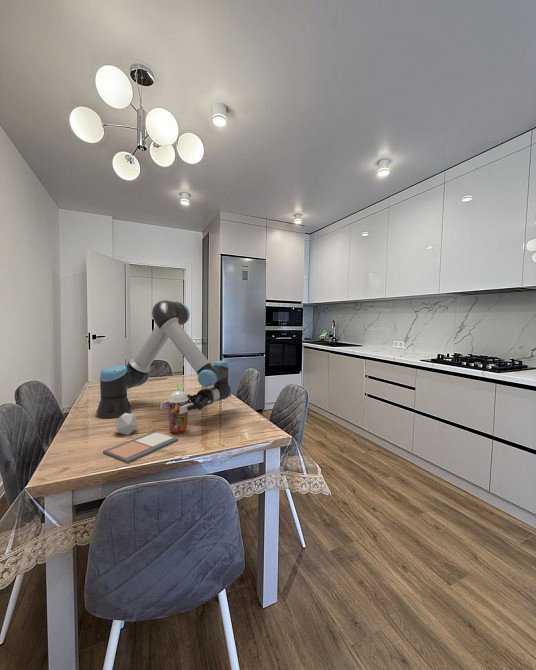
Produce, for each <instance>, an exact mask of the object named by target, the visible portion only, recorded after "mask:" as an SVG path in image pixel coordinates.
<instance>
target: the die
mask: <svg viewBox="0 0 536 670" xmlns="http://www.w3.org/2000/svg"><path fill="white" fill-rule="evenodd" d="M114 424H115V425H114V426H115V430H116V431H117V433H118V434H121V435H125V436H130V434H131V433H132V432H133V431H135V429H137V428H138V427H139V423H138V420H137V417H136V415H135V414H134V413H124V414H123V415H122V416H121V417H117V419H116V420H115V421H114Z"/></svg>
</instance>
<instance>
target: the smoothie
mask: <svg viewBox="0 0 536 670" xmlns="http://www.w3.org/2000/svg"><path fill="white" fill-rule="evenodd" d="M176 386H177V390H175V391H173V392H172V393H171V394H170V395H169V397H168V399H167V401H168V408H167V409H168V421H169V431H170V432H171V433H172V434H174V435H179V434H183V433H185V432H186V430H187V429H188V428H187V427H188V414H189V411H188V412H185V413H182V414H180V407H181V406H184V405H187V404H188V400H189V398H188V397H187V395H188V394H187V393H185V392H184V391H183V390H180V384H178V383H177V385H176Z"/></svg>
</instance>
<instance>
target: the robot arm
mask: <svg viewBox="0 0 536 670" xmlns="http://www.w3.org/2000/svg"><path fill="white" fill-rule="evenodd" d="M151 311H152V312H151V315H152V319H153V321H154V323H155V327H154V328H153V329H152V331H151V333H150V334H149V336H148V338H147V339H146V341H145V342H144V343H143V345H142V346H141V348H140V350H139V351H138V353H137V354H136V356H135V357H134V358H130V359H129V360H128V362H127V364H126V365H123V364H114V365H110V366H107V367H104V368H102V369H101V370H100V375H99V383H100V384H99V386H100V389H99V390H100V401H99V404H98V405H97V406H98V407H97V409H96V417H97V418H98V419H114V418H119V417H121V416H122V415H123V414H124V413H129V414H132V406H131V404H130V400H129V398H128V390H129V389H133V388H134V387H135V388H136V387H139V386H142V385H143V384H145V383H147V381H148V380H149V378H150V372H151V365H152V363H153V362H154V360H155V359H156V357H157V355H158V354H159V353H160V351H161V350H162V348H163V347H164V345H165V344H166V342H167V341H168V339H170V341H171V342H172V344H174V346H175V348H176V349H177V350H178V352H179V353H180V354H181V355H182V356H183V357H184V359H185V360H186V361H187V363H189V365H190V366H191V368H192V369H193V371H194V372H195V373H196V374H197V381H198V383H199V385H200V386H202V387H203V389H200V390H199V391H197V392H196V394H193V395H191V394H189V393H188V394H186V395H187V397H188V398H189V400H188V404H187V405H184V406H181V407H180V414H182V413H185V412H188V413H189V412H190V411H195V410H199V411H201V410H203V409H204V408H205V407H207V406H209V405H213V404H214V403H216V402H220V401H223V400H226V399H228V398H230V397H231V396H232V394H233V389H234V388H233V387H232V385H231V384H230V382H229V372H230V371H229V369H230V367H229V366H230V365H229V362H228V361H226V360H214V361H213V364H211V363H210V362H209V360H208V359H207V358H206V356H205V355H204V353H203V352H202V351H201V350H200V349H199V347H198V345H196V343H195V342H194V340H193V339H192V338H191V337H190V335H189V334H188V332H186V331H185V329H184V327H183V326H182V325H185V324H187V323H188V321H189V319H190V315H191V314H190V310H189V307H188V306H187V305H186V304H184V303H183V302H179V301H172V300H165V299H163V300H161V301H158V302H157V303H155V304H154V306H153V307H152V310H151ZM159 404H160V407H159V408H160V410H165V409H168V400H165V401H162V402H160V403H159Z"/></svg>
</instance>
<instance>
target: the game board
mask: <svg viewBox="0 0 536 670" xmlns="http://www.w3.org/2000/svg"><path fill="white" fill-rule="evenodd" d="M178 441H179V438H177V437H174V436H171V435H167V434H164V433H160V432H158V431H157V432H156V431H151V432H149V433H146V434H143V435H141V436H139V437H136V438H134V439H130V440H128V441H125V442H122V443H120V444H118V445H115V446H112V447H110V448H107V449H105V450H103V451H102V454H104V455H106V456H108V457H111V458H114V459H116V460H118V461H121V462H123V463H126V464H130V463H133V462H134V461H136V460H138V459H141V458H144V457H145V456H148V455H149V454H152V453H154V452H157V451H158V450H161V449H163V448H165V447H168V446H169V445H172V444H174V443H176V442H178Z"/></svg>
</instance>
